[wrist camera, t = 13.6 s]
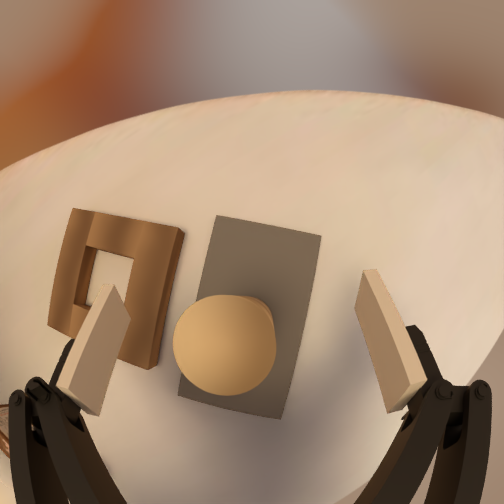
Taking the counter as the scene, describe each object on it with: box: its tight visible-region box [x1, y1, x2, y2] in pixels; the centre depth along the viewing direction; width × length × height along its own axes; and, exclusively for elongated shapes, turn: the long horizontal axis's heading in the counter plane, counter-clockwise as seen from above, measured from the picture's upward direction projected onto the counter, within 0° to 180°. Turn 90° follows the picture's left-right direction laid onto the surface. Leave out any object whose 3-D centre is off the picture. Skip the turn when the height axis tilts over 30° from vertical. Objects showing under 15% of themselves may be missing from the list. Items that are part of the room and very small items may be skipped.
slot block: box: [47, 208, 185, 370], centre depth 23 cm, size 12×12×2 cm
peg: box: [173, 295, 276, 396], centre depth 16 cm, size 4×4×12 cm
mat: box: [178, 215, 321, 419], centre depth 22 cm, size 9×16×1 cm, turn 168°
